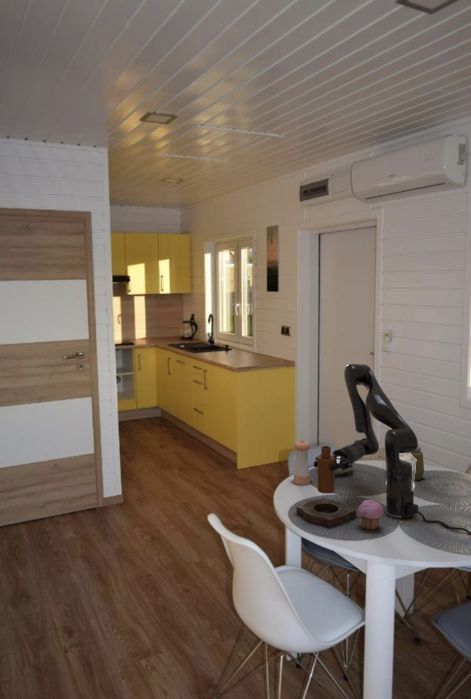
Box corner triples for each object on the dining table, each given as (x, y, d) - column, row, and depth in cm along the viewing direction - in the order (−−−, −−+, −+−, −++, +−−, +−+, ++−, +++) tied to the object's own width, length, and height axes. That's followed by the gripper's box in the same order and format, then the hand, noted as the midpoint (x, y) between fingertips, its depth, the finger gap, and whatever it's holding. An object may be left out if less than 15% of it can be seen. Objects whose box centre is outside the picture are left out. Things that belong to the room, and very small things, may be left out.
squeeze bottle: (402, 476, 263) (402, 437, 261) (417, 474, 266) (417, 436, 264) (412, 481, 256) (413, 442, 254) (428, 479, 258) (428, 440, 256)
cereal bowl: (347, 480, 259) (347, 464, 259) (313, 474, 268) (312, 459, 267) (359, 469, 274) (359, 455, 273) (327, 464, 282) (327, 450, 282)
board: (360, 516, 218) (360, 509, 218) (327, 529, 207) (327, 521, 207) (324, 503, 233) (324, 496, 232) (292, 514, 221) (292, 507, 221)
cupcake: (364, 520, 214) (364, 495, 213) (386, 526, 210) (386, 499, 208) (354, 529, 207) (354, 502, 206) (377, 534, 202) (378, 507, 201)
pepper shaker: (305, 478, 263) (305, 437, 261) (313, 483, 256) (312, 441, 254) (291, 480, 260) (290, 439, 258) (298, 485, 253) (298, 443, 251)
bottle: (338, 490, 219) (338, 447, 216) (326, 494, 215) (326, 450, 213) (325, 486, 224) (325, 443, 221) (314, 490, 220) (313, 446, 218)
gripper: (330, 443, 233) (306, 453, 220) (361, 450, 223) (339, 460, 211) (330, 461, 234) (306, 472, 221) (361, 468, 224) (339, 480, 212)
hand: (322, 466), depth 216 cm, fingers closed on bottle, 6 cm apart
